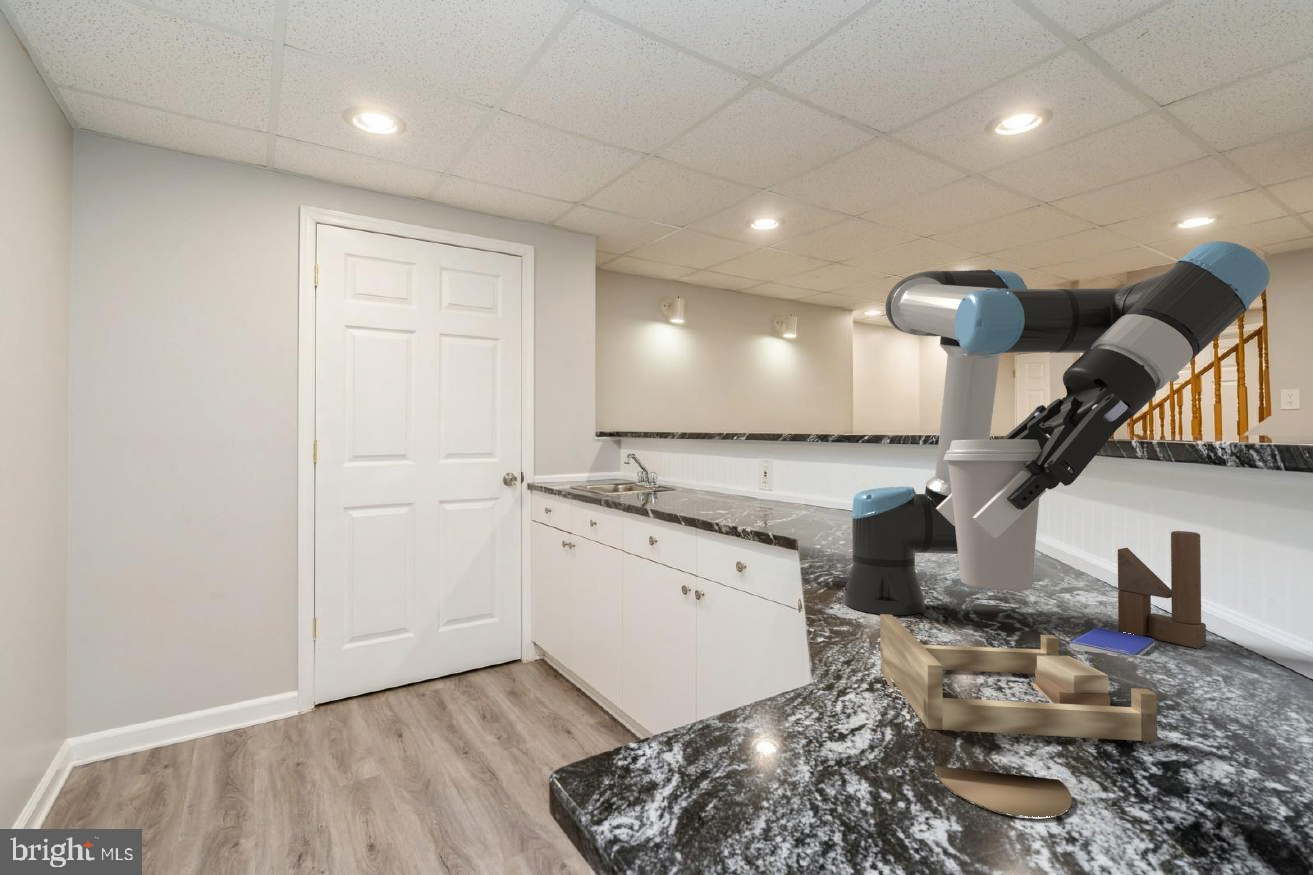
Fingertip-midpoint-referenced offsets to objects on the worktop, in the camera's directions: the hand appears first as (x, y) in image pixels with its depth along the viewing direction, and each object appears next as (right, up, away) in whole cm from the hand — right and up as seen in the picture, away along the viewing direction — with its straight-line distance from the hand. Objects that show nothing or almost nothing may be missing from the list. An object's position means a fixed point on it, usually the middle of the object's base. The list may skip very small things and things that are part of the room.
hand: (963, 522), depth 64 cm
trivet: (0, -23, -7) cm, 24 cm away
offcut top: (+17, -20, +9) cm, 28 cm away
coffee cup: (+3, -7, 0) cm, 7 cm away
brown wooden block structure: (+51, -25, +36) cm, 67 cm away
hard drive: (+40, -25, +33) cm, 58 cm away
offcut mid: (+17, -22, +9) cm, 30 cm away
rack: (+9, -24, +10) cm, 27 cm away
